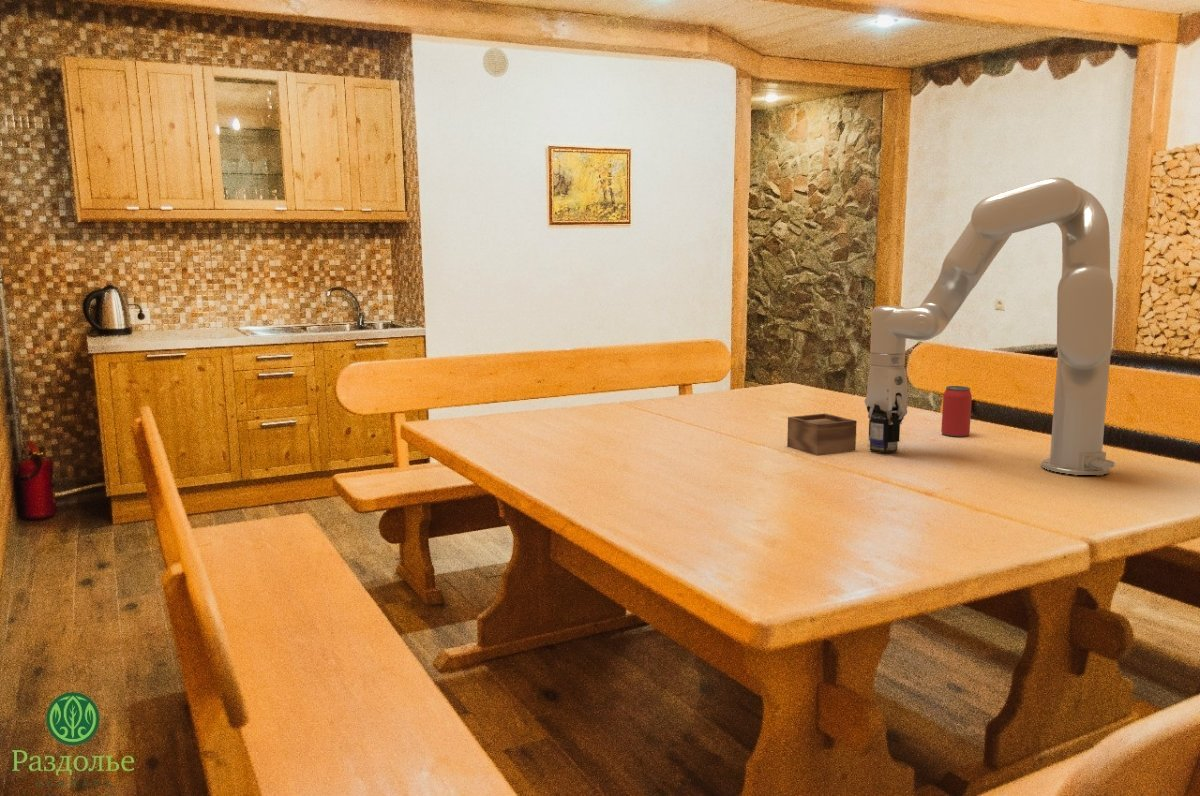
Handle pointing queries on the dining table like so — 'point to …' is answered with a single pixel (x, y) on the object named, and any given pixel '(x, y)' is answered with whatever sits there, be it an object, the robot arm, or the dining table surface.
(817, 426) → the walnut open box
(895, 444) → the pill bottle
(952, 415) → the beer can
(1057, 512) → the dining table surface
